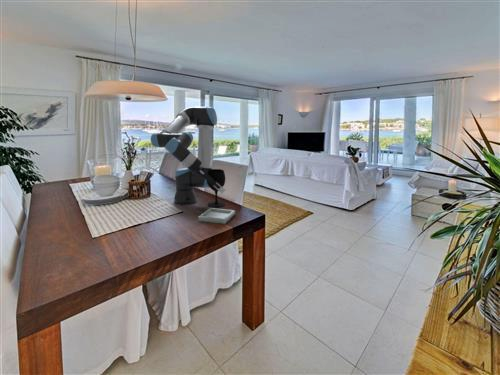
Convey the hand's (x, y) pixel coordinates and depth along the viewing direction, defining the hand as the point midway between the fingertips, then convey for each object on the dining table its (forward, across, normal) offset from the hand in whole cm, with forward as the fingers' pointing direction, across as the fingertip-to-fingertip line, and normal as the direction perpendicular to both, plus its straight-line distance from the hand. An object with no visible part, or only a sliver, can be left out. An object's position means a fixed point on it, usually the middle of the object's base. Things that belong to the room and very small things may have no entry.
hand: (221, 189), depth 140 cm
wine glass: (+4, 0, -9) cm, 10 cm away
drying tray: (+10, -1, -14) cm, 17 cm away
